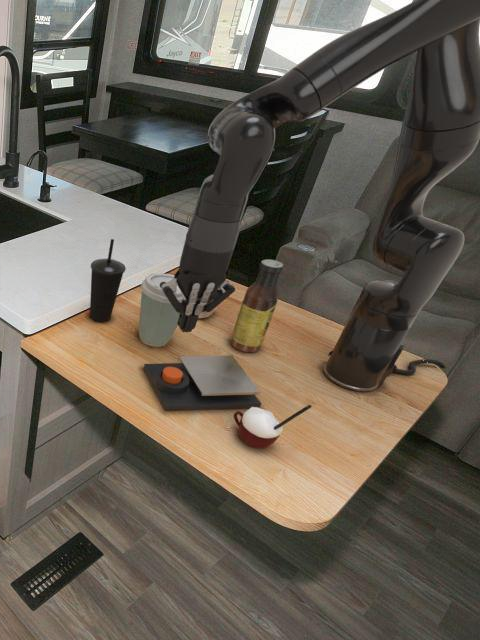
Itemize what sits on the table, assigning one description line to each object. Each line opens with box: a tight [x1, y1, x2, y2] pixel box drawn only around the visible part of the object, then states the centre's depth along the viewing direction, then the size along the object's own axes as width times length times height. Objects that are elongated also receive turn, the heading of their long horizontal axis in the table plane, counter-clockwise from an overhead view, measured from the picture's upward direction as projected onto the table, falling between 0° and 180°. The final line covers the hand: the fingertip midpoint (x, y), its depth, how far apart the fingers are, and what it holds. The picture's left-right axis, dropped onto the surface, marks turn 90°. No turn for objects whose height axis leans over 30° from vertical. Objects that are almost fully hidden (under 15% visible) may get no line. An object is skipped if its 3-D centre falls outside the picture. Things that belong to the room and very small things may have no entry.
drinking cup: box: [89, 238, 127, 324], centre depth 119 cm, size 8×8×20 cm
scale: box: [142, 362, 262, 412], centre depth 102 cm, size 18×13×3 cm
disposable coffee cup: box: [138, 272, 182, 348], centre depth 112 cm, size 11×11×15 cm
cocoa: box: [233, 404, 312, 449], centre depth 87 cm, size 10×6×12 cm, turn 10°
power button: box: [162, 367, 183, 384], centre depth 101 cm, size 4×4×2 cm
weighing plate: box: [178, 354, 261, 396], centre depth 101 cm, size 11×12×1 cm
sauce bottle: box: [230, 258, 284, 353], centre depth 109 cm, size 6×6×20 cm
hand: (185, 329), depth 94 cm, fingers closed
